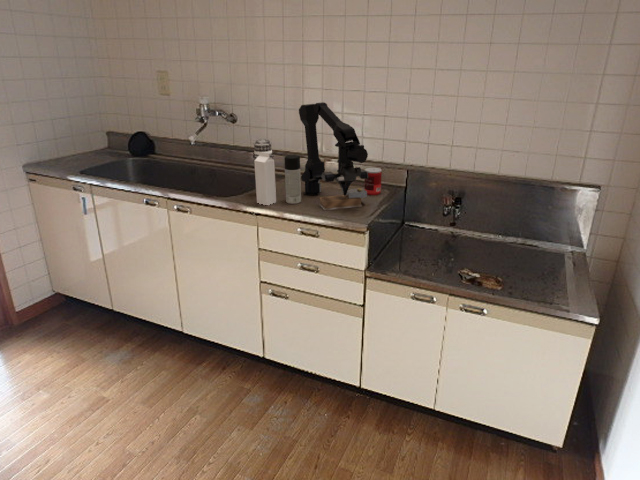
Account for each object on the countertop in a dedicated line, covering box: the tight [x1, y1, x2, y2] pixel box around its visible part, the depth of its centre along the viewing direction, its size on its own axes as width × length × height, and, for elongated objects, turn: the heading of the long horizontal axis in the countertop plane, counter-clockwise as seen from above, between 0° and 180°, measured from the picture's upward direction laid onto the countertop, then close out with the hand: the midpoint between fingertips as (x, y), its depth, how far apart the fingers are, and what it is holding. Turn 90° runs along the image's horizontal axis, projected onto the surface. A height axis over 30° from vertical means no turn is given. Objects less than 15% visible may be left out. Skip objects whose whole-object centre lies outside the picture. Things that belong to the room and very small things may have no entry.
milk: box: [253, 152, 277, 206], centre depth 197 cm, size 6×6×22 cm
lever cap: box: [345, 187, 368, 199], centre depth 197 cm, size 8×5×3 cm, turn 104°
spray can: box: [284, 154, 302, 205], centre depth 199 cm, size 7×7×20 cm
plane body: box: [318, 194, 363, 211], centre depth 196 cm, size 17×8×4 cm, turn 107°
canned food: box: [363, 167, 383, 196], centre depth 211 cm, size 8×8×11 cm
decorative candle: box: [252, 138, 275, 183], centre depth 208 cm, size 9×9×25 cm
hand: (344, 195), depth 196 cm, fingers closed
